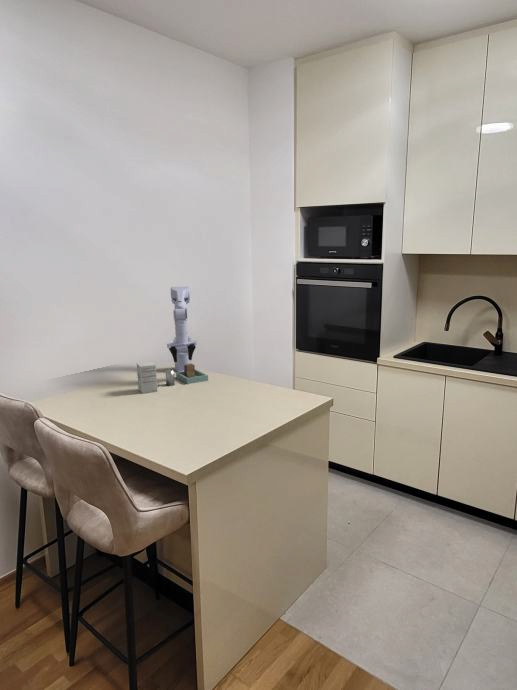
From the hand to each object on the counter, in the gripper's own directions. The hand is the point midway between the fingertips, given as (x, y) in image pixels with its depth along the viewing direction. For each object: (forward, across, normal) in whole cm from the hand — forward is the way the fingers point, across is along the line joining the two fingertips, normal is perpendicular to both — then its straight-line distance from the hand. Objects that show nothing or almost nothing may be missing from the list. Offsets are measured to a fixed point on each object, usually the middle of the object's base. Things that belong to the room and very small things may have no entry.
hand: (182, 360), depth 230 cm
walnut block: (+9, +4, +2) cm, 10 cm away
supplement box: (+10, -21, -7) cm, 24 cm away
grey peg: (+10, -8, -4) cm, 13 cm away
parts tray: (+10, +4, -1) cm, 10 cm away
